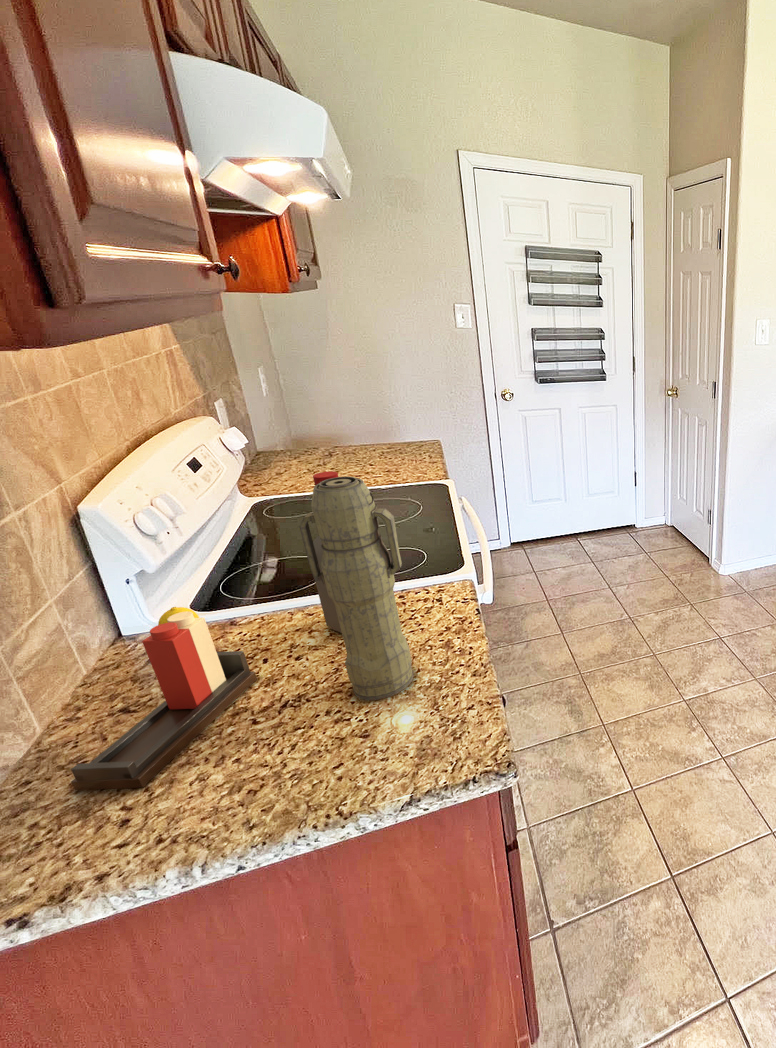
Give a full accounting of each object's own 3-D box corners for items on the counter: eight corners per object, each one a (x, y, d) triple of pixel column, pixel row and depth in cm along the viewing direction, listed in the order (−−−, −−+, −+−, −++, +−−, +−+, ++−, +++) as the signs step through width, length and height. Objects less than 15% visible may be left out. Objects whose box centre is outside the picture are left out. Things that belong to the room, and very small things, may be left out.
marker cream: (185, 696, 87) (156, 622, 82) (200, 683, 90) (173, 611, 85) (213, 695, 87) (186, 621, 83) (227, 682, 90) (202, 610, 85)
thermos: (423, 689, 92) (383, 486, 80) (338, 708, 88) (281, 496, 75) (425, 659, 100) (388, 468, 87) (346, 675, 95) (296, 476, 83)
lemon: (167, 644, 102) (152, 605, 99) (208, 634, 105) (194, 596, 102) (165, 659, 98) (150, 619, 95) (208, 648, 101) (194, 609, 98)
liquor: (397, 616, 112) (367, 471, 102) (351, 639, 105) (314, 485, 94) (367, 605, 116) (335, 464, 105) (321, 626, 108) (281, 477, 98)
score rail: (74, 790, 73) (58, 757, 71) (205, 680, 93) (195, 652, 91) (142, 787, 73) (127, 754, 71) (257, 678, 94) (248, 650, 92)
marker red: (169, 709, 84) (138, 633, 79) (185, 696, 87) (156, 622, 82) (198, 708, 84) (169, 633, 80) (213, 695, 87) (186, 621, 83)
